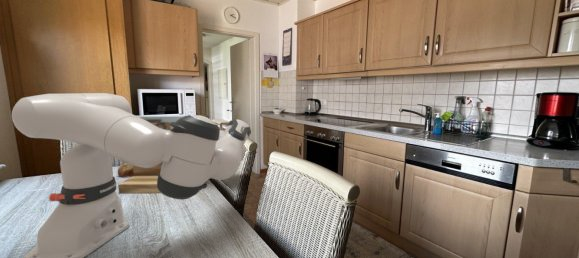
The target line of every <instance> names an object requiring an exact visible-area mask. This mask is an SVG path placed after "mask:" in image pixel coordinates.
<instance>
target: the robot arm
mask: <svg viewBox="0 0 579 258" xmlns="http://www.w3.org/2000/svg"><path fill="white" fill-rule="evenodd" d="M132 110H133V109H132V107H131V104H130V102H129V100H127V98H126V97H124V96H122V95H118V94H114V93H106V92H83V93H81V92H80V93H78V92H77V93H75V92H74V93H45V94H38V95H31V96H26V97H22V98H20V99H19V100H17V102H16V103H15V105H14V106H13V108H12V110H11V120H12V122H13V125H14V127H15V128H16V129H17V130H18V131H19V132H20V133H21V134H22V135H24V136H26V137H27V138H33V139H49V140H58V141H64V142H70V143H75V146H72V147H71V148H70V149H68V150H67V151H66V152H65V153H64V154H63V155H62V156H61V158H60V161H59V165H60V172H61V178H62V186H61V190H60V192H58V193H53V192H52V193H50V194H49V196H48V200H49V201H50V202H58V205H57V206H56V207H55V209H53V211H52V212H51V214H50V215H49V216H48V218H47V219H46V220H45V222H44V223H43V224H42V225H41V227H40V228H39V229H38V232H37V237H36V241H37V242H36V243H37V244H36V246H34V247H33V248H32V249H31V250H30V251H28V252H27V253H26V254H25V255H24V258H85V257H86V256H89V255H90V254H92V252H94V251H95V250H97V249H98V248H100V247H101V246H103V245H104V244H106V243H107V242H109V241H111V240H112V239H113V238H115V237H116V236H117V235H119V234H120V233H122V232H123V231H125V230H127V229H128V228H129V227H130V224H129V222H128V221H127V220H126V218H125V214H124V209H123V205H122V201H121V199H120V197H119V196H118V194H117V192H116V190H117V181H116V178H115V176H114V172H113V158H114V159H116V160H118V161H120V162H123V163H128V164H130V165H134V166H138V167H142V168H151V167H154V166H157V165H159V164H160V163H162V162H163V163H162V167H161V172H160V174H158V179H157V188H158V190H159V191H160V192H161V194H162V195H163V196H165V197H168V198H171V199H174V200H188V199H190V198H192V197H194V196H195V195H197V194H199V192H200V191H201V190H203V189H207V188H208V182H207V181H208V180H210V179H213V180H217V181H218V180H220V181H221V180H222V181H224V180H227V179H230V178H231V177H233V176H234V175H235V174H236V173H237V172H238V170H239V169H240V166H241V163H242V162H243V161H244V160H243V158H244V156H245V152H246V147H245V145H246V144H245V143H246V142H247V140H248V138H249V137H250V135H251V134H252V129H251V126H249V124H248V123H247V122H246V121H243V120H241V119H237V118H235V119H231V120H229V122H228V124H227V127H226V128H225V130H224V131H223V128H221V127H220V126H219V125H218V124H216V123H215V122H214V121H213V120H212V119H210V118H209V117H207V116H204V115H199V114H193V115H191V114H189V115H183V116H184V117H182V118H180V119H178V120H177V121H176V122H170V124H169V125H170V127H172V128H170V130H164V129H161V128H159V127H157V126H155V125H153V124H151V123H150V122H148V121H146V120H144V119H142V118H140V117H137V116H138V115H135V114H133V111H132ZM244 144H245V145H244ZM242 160H243V161H242ZM241 161H242V162H241Z"/></svg>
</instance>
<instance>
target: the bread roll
mask: <svg viewBox="0 0 579 258" xmlns="http://www.w3.org/2000/svg"><path fill="white" fill-rule="evenodd" d="M117 175H118V177H120V178H130V177H132V176H134V172H133V165H130V164H128V163H125V162H123V163H122V164H121V165H120V166H119V167H118V170H117Z"/></svg>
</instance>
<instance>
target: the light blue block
mask: <svg viewBox="0 0 579 258" xmlns="http://www.w3.org/2000/svg"><path fill="white" fill-rule="evenodd" d="M136 116H137V117H140V118H142V119H161V122H176V121H177V120H178V119H180V118H182V117H184V116H185V115H136Z"/></svg>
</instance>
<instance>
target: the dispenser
mask: <svg viewBox="0 0 579 258" xmlns="http://www.w3.org/2000/svg"><path fill="white" fill-rule="evenodd" d="M144 120H146V121H148V122H150V123H151V124H153V125H155V126H157V127H159V128H161V129H164V130H170V129H171V126H170V125H169V124H170V122H161V119H144ZM162 163H163V162H162ZM162 163H160V164H159V165H157V166H154V167H151V168H142V167H138V166H134V165H133V172H134V176H158V174H160V172H161V167H162Z"/></svg>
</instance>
